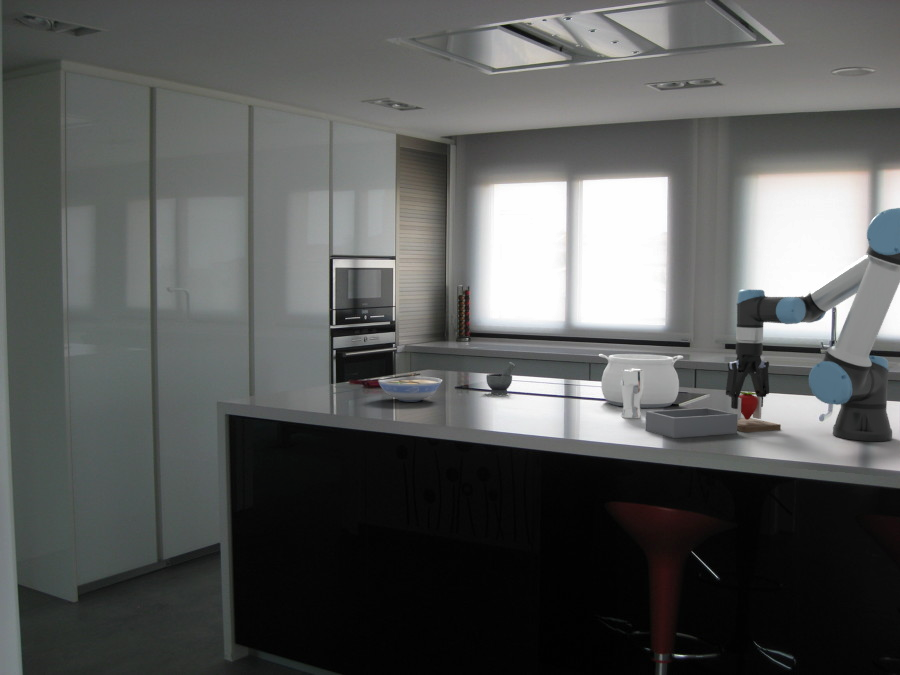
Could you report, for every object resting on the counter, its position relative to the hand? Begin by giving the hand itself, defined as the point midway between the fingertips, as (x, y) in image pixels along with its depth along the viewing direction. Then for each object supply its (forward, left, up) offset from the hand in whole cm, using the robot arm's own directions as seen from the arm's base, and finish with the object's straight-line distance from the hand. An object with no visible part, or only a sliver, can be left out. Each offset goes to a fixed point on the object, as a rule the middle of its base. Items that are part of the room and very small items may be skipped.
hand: (746, 418), depth 263 cm
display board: (0, 0, -3) cm, 3 cm away
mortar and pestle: (+91, +36, -3) cm, 98 cm away
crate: (-1, +21, -3) cm, 21 cm away
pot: (+51, +2, -3) cm, 51 cm away
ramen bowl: (+84, +75, -3) cm, 113 cm away
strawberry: (0, 0, 0) cm, 0 cm away
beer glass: (+27, +22, -3) cm, 35 cm away
